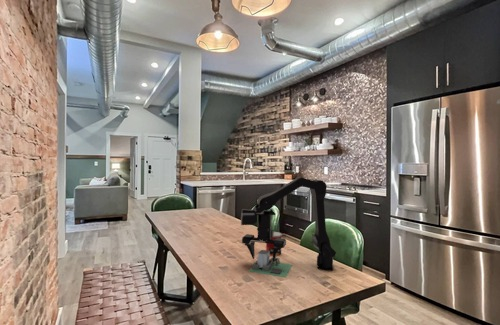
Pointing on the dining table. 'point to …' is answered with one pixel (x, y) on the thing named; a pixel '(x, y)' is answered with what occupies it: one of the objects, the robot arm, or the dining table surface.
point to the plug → (263, 258)
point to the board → (275, 269)
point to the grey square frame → (265, 268)
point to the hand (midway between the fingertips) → (263, 260)
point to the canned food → (271, 246)
